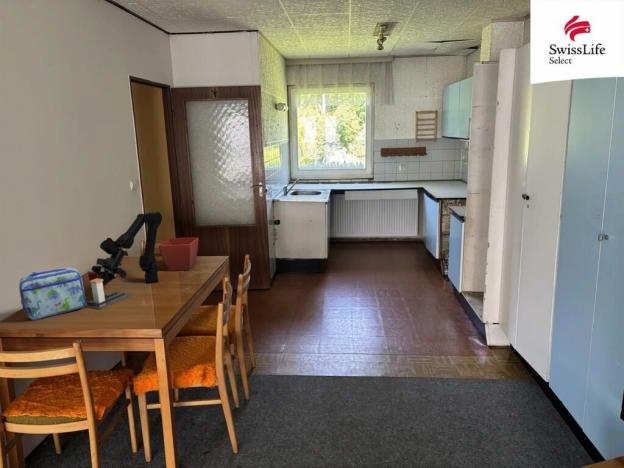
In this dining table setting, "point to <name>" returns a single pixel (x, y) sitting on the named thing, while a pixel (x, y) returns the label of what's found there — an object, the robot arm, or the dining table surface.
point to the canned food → (93, 277)
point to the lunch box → (51, 292)
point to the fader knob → (97, 290)
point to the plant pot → (179, 253)
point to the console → (108, 300)
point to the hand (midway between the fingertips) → (100, 286)
